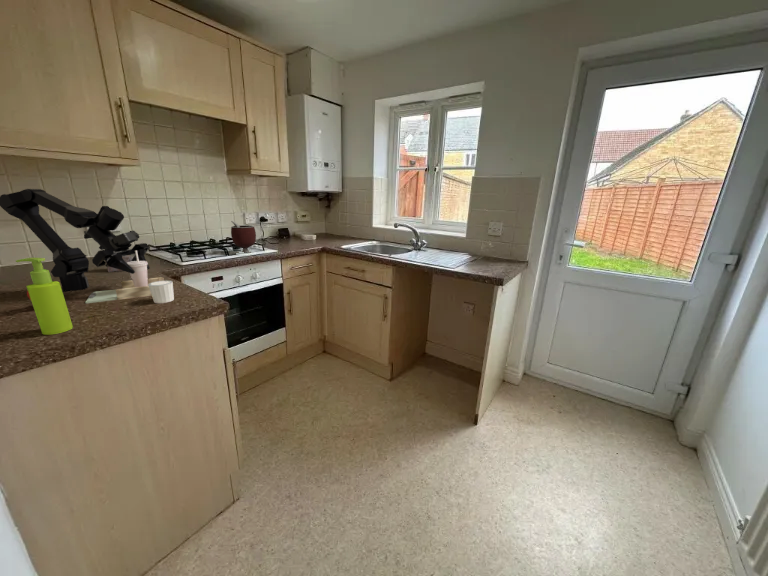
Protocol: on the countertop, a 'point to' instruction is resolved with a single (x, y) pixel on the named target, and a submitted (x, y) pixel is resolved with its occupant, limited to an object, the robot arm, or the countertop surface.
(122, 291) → the wooden serving board
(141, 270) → the smoothie
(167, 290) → the white ramekin
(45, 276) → the soap dispenser
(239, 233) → the mate gourd
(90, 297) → the pale green flat block
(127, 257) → the food item
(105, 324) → the countertop surface
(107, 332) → the countertop surface
